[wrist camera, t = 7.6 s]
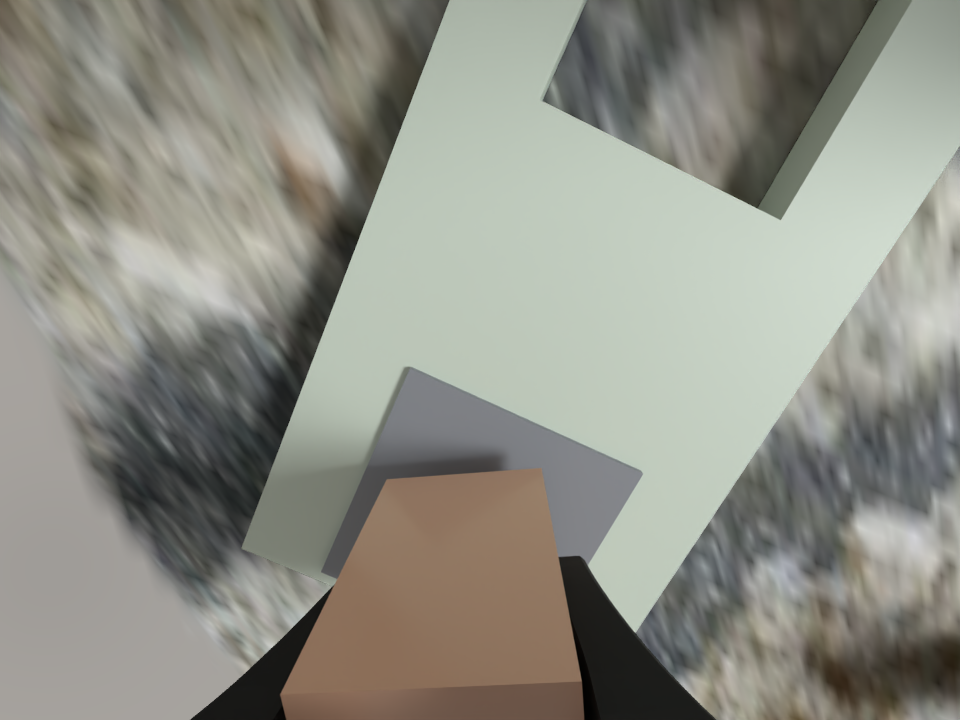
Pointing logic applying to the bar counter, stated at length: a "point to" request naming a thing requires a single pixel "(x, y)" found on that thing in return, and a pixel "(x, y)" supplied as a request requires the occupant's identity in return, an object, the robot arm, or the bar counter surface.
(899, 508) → the bar counter surface
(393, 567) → the terracotta block
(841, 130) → the pocket board
